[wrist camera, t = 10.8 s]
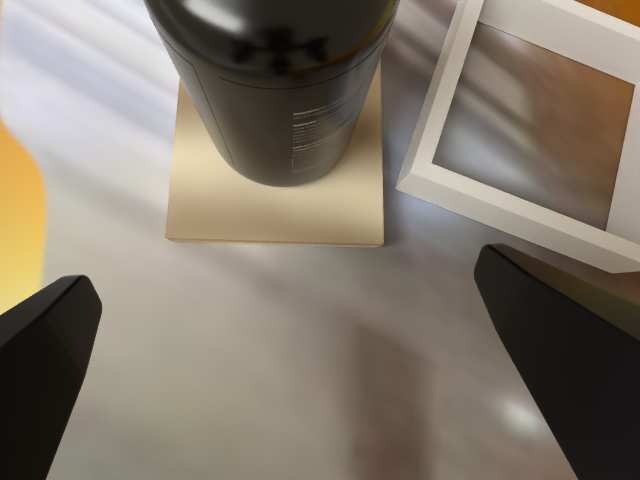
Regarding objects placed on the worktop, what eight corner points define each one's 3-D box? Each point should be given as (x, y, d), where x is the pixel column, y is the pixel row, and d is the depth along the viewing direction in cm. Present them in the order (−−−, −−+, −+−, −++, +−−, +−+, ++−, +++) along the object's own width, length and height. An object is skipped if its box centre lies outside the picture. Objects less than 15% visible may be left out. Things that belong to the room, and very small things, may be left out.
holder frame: (611, 273, 18) (659, 269, 16) (394, 188, 18) (410, 172, 16) (649, 79, 21) (695, 51, 18) (458, 0, 20) (480, -38, 18)
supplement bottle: (346, 63, 18) (464, -407, 6) (354, 190, 17) (519, -80, 5) (210, 59, 17) (36, -481, 5) (208, 192, 16) (-23, -120, 4)
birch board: (377, 247, 17) (383, 244, 16) (173, 242, 17) (165, 237, 15) (374, 38, 19) (379, 22, 18) (192, 23, 19) (186, 4, 17)
